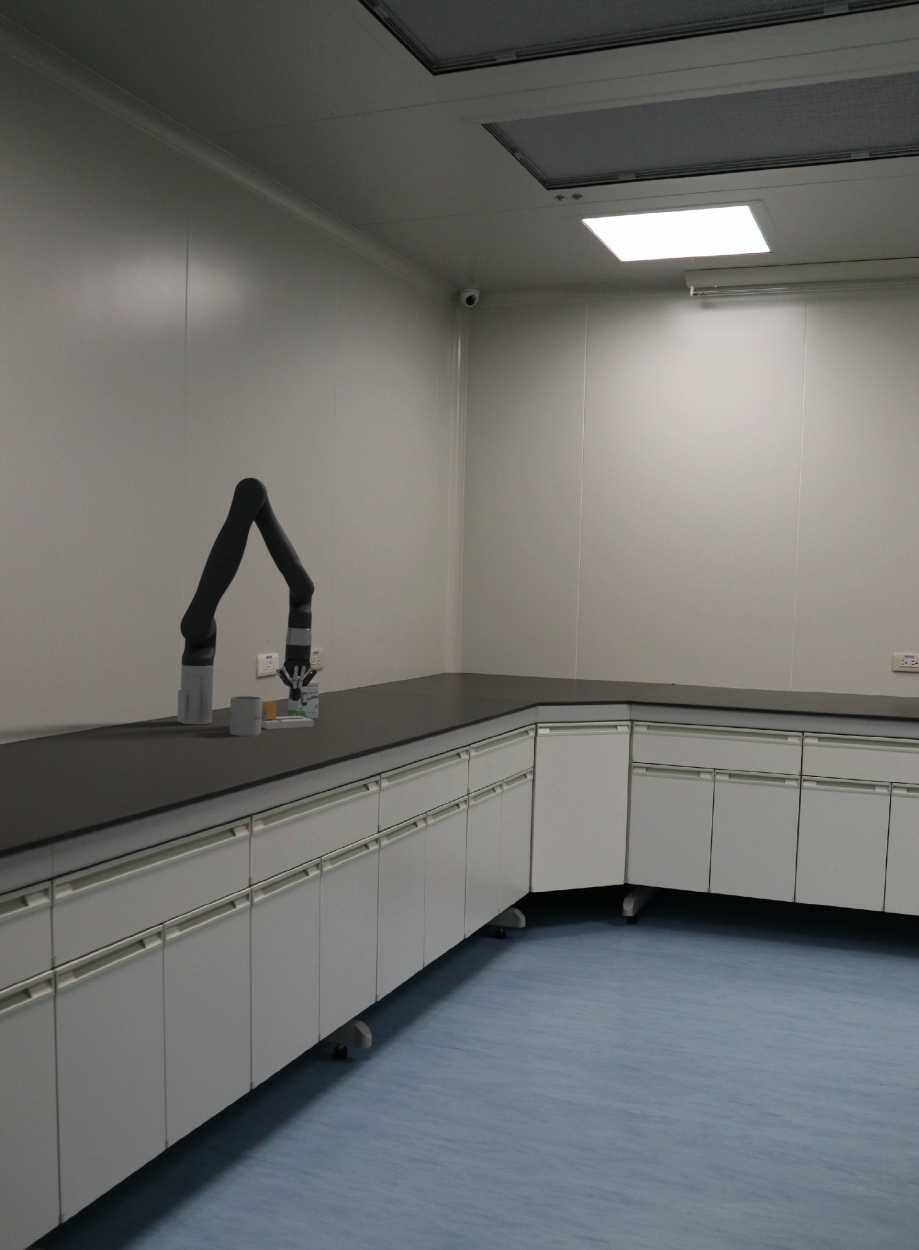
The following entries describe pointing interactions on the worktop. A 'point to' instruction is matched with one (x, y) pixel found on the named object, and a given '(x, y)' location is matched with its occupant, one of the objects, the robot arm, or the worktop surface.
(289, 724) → the console
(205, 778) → the worktop surface
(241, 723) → the mug
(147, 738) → the worktop surface
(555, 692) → the worktop surface
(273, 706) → the orange block
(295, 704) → the ink box
